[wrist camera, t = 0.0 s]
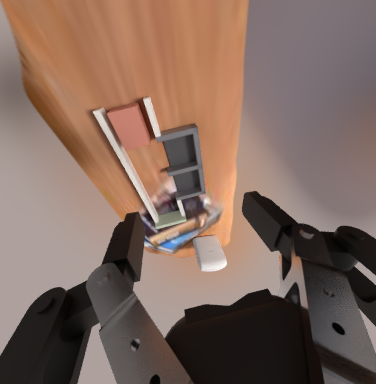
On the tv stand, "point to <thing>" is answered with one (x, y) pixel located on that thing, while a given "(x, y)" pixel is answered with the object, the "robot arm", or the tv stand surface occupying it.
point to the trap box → (178, 157)
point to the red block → (130, 126)
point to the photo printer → (209, 253)
